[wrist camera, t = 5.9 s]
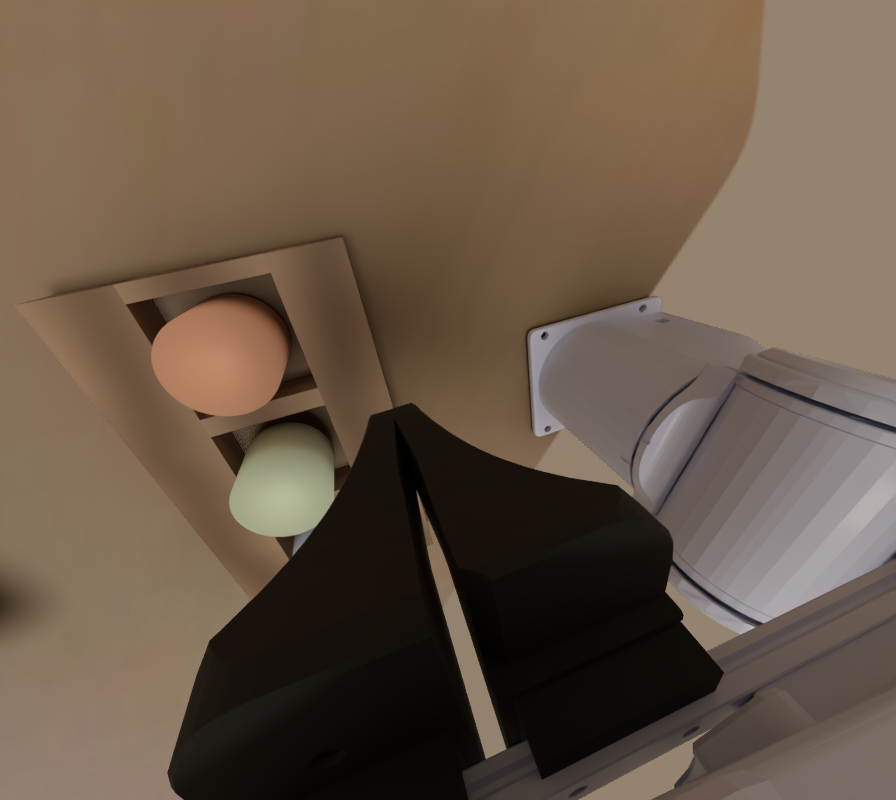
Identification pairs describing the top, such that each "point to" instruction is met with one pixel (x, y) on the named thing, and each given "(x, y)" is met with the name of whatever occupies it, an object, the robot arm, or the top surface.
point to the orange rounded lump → (223, 355)
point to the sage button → (284, 481)
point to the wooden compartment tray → (208, 436)
